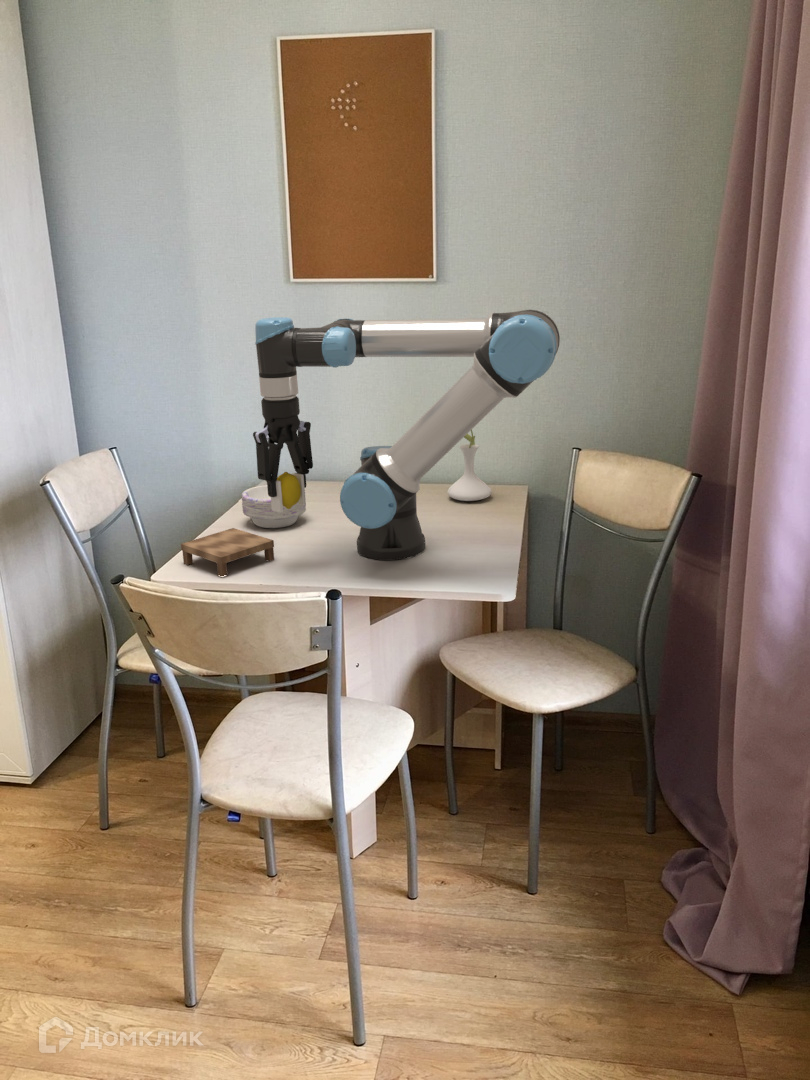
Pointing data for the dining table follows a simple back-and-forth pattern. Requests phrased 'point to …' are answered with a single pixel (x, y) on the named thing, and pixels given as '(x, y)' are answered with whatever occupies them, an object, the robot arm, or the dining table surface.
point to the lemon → (289, 489)
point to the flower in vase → (469, 477)
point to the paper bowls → (268, 509)
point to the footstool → (227, 547)
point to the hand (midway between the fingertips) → (288, 507)
